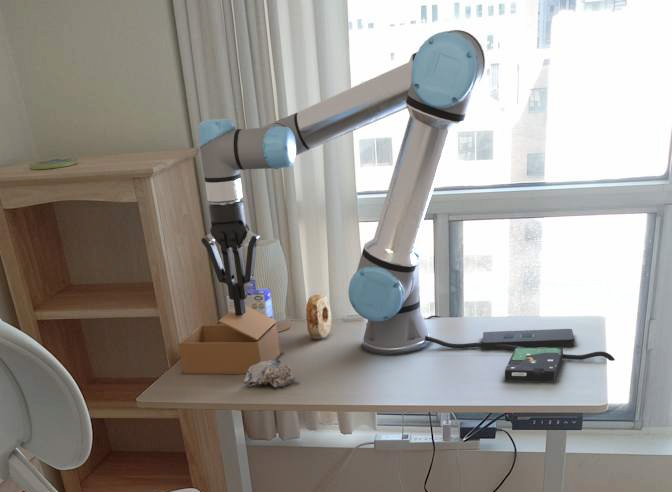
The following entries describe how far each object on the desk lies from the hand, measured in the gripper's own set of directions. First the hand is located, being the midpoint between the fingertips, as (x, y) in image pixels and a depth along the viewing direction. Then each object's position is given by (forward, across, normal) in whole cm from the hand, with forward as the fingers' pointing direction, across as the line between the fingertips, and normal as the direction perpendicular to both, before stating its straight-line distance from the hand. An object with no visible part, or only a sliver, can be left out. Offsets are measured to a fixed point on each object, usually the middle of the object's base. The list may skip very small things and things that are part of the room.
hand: (240, 313), depth 208 cm
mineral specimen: (+12, -10, +14) cm, 21 cm away
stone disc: (+12, -12, -20) cm, 26 cm away
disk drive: (+11, -65, +4) cm, 67 cm away
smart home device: (+11, -62, -14) cm, 65 cm away
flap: (+2, -2, 0) cm, 2 cm away
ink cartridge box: (+12, +4, -16) cm, 20 cm away
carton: (+11, +4, 0) cm, 12 cm away
